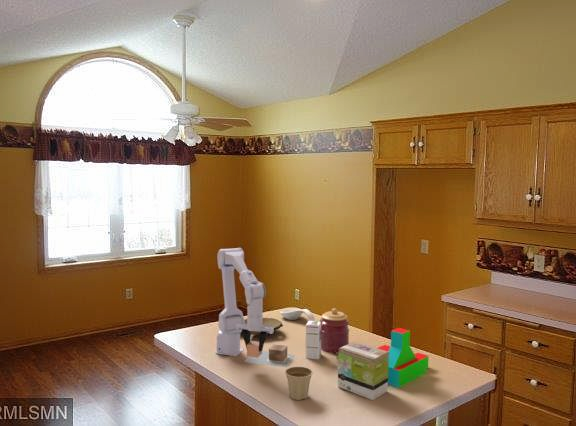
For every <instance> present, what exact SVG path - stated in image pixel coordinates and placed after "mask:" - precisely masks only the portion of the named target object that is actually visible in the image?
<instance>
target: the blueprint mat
mask: <svg viewBox="0 0 576 426" xmlns="http://www.w3.org/2000/svg"><path fill="white" fill-rule="evenodd" d="M296 356H297V354H290V353H287V358H286V359H285V360H284V361H283V362H280V361H272V360H269V351H266V350H262V354H261V355H260V356H259V357H258V358H256V357H248V356H247V358H246V359H245V360H244V361H243V363H250V364H257V365H264V366H271V367H272V366H273V367H280V368H281V367H282V368H287V367H288V366H289V365H290V364H291V362H292V361H294V359H295V358H296Z"/></svg>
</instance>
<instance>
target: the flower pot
mask: <svg viewBox="0 0 576 426" xmlns="http://www.w3.org/2000/svg"><path fill="white" fill-rule="evenodd" d="M284 374H285V375H286V379H287V386H288V394H289V397H290V398H291V399H292V400H295V401H301V400H305V399H307V398H308V396H309V389H310V383H311V378H312V375H313V374H314V371H313V370H312V369H311V368H309V367H306V366H292V367H289V368H286V369H285V371H284Z"/></svg>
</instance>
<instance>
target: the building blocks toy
mask: <svg viewBox="0 0 576 426" xmlns="http://www.w3.org/2000/svg"><path fill="white" fill-rule="evenodd" d="M410 336H411V330H410V329H405V328H401V327H397V328H395V329H391V331H390V345H386V344H383V345H380V346H379V347H377V348H378V349H381V350H384V351H388V352H389V365H388V385H390V386H393V387H395V388H398V389H399V388H401V387H403V386H404V385H407V384H408V383H410V382H412V381H413V380H416V379H418V378H419V377H422V376H423V375H425V374H426V373H427V369H428V368H429V357H430V356H429V355H427V354H423V353H420V352H416V353H414V351H413V349H412V348H411V346H410V344H411V342H410V339H411V338H410Z"/></svg>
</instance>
